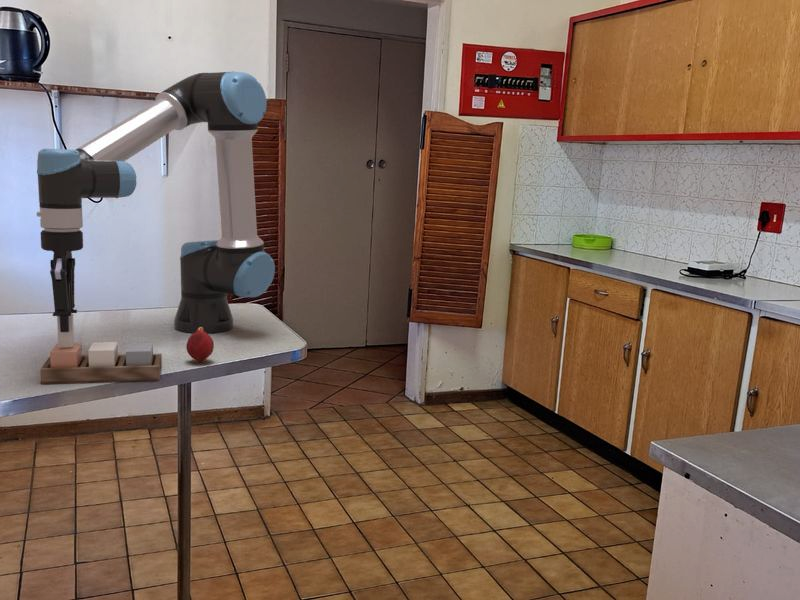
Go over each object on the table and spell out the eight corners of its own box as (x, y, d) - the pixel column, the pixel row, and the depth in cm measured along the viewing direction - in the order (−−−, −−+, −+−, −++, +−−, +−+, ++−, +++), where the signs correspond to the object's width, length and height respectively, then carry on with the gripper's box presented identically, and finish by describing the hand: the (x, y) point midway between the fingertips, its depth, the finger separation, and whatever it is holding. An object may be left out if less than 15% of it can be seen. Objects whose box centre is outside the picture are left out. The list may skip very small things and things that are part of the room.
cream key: (118, 357, 155) (117, 341, 154) (114, 366, 148) (114, 350, 148) (93, 357, 154) (93, 342, 153) (88, 366, 147) (88, 350, 147)
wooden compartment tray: (161, 367, 159) (161, 353, 159) (159, 380, 150) (159, 366, 149) (50, 369, 153) (50, 355, 153) (40, 384, 144) (40, 369, 143)
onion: (206, 367, 161) (206, 331, 159) (181, 364, 162) (181, 329, 160) (217, 360, 166) (217, 325, 165) (193, 357, 167) (193, 323, 166)
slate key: (153, 357, 157) (153, 342, 156) (151, 366, 150) (151, 351, 150) (129, 358, 156) (128, 343, 155) (126, 367, 149) (125, 351, 148)
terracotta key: (82, 358, 153) (81, 343, 153) (77, 368, 147) (76, 352, 146) (57, 359, 152) (56, 343, 151) (50, 368, 145) (50, 352, 145)
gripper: (47, 225, 149) (52, 338, 154) (33, 232, 137) (39, 355, 142) (87, 226, 151) (91, 338, 156) (77, 233, 139) (81, 354, 143)
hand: (66, 346), depth 149 cm, fingers closed
